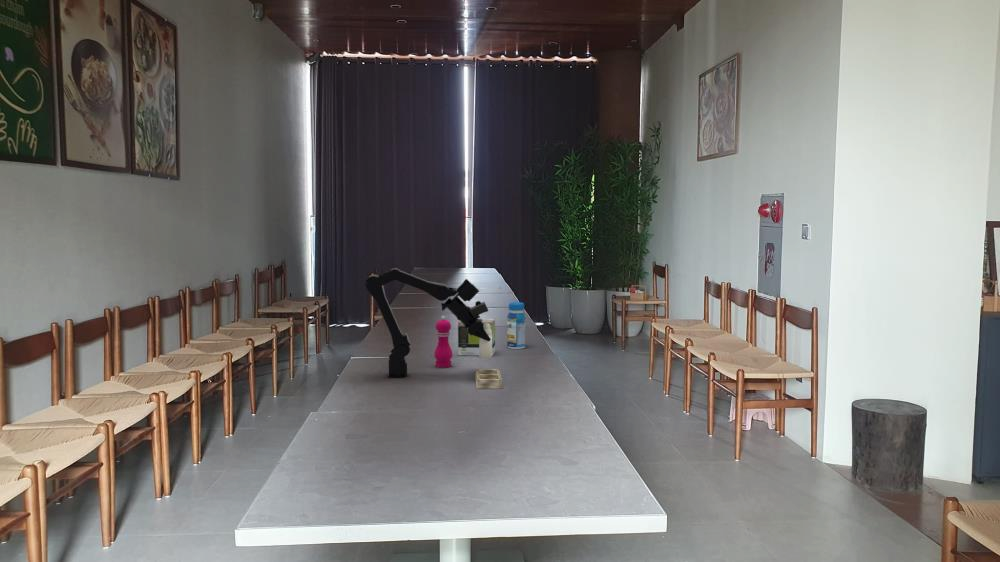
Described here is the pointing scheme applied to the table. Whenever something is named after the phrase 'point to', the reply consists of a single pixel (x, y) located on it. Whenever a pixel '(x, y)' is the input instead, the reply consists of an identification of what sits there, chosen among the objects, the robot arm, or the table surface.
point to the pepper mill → (443, 344)
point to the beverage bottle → (516, 326)
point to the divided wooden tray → (488, 379)
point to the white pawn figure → (486, 343)
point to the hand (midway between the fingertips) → (489, 339)
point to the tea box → (472, 339)
